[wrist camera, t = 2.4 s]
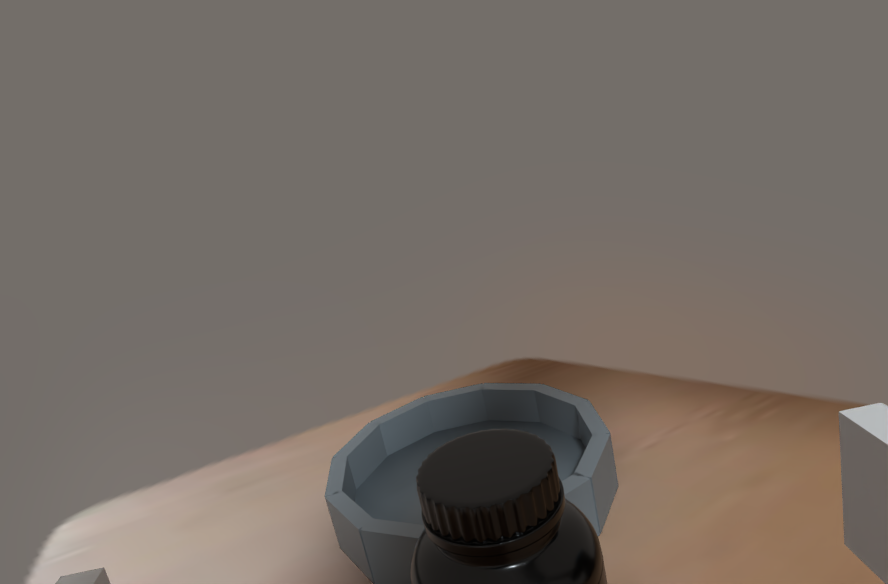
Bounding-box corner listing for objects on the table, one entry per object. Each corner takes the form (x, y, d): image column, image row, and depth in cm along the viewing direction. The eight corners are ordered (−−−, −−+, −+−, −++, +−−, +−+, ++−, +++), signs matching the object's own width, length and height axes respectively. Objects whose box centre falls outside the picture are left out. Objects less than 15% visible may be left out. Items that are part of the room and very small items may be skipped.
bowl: (638, 431, 45) (631, 384, 44) (568, 620, 31) (556, 557, 30) (420, 422, 53) (411, 382, 52) (286, 568, 39) (269, 517, 38)
